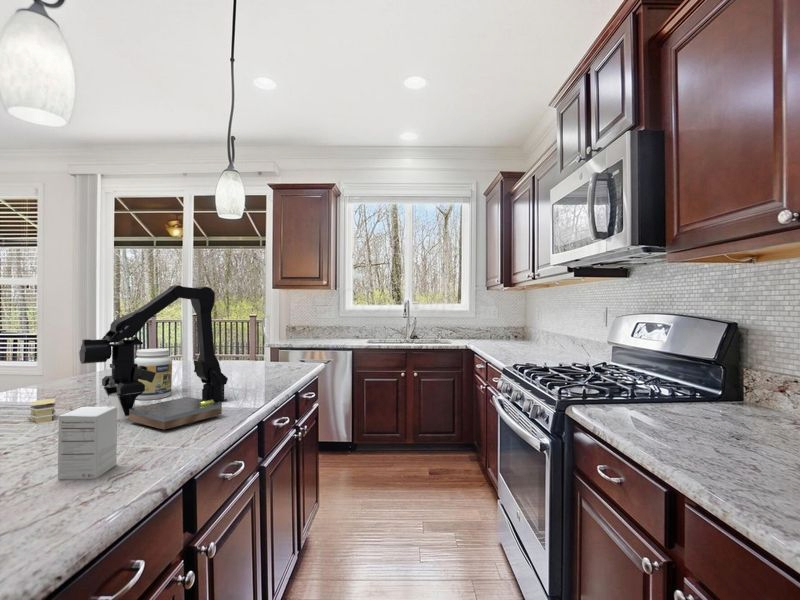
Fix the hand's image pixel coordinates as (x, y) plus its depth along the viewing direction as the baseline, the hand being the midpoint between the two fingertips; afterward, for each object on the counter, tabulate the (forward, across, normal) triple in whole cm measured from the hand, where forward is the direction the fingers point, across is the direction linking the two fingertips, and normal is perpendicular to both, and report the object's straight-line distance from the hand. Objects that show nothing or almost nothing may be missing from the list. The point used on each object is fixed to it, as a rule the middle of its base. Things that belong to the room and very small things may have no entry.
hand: (122, 412), depth 127 cm
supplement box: (+1, -41, +18) cm, 44 cm away
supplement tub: (+2, +22, -16) cm, 27 cm away
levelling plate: (-2, -15, -10) cm, 18 cm away
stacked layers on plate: (+2, +12, +16) cm, 20 cm away
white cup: (+1, 0, 0) cm, 1 cm away
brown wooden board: (+1, -15, -10) cm, 18 cm away
